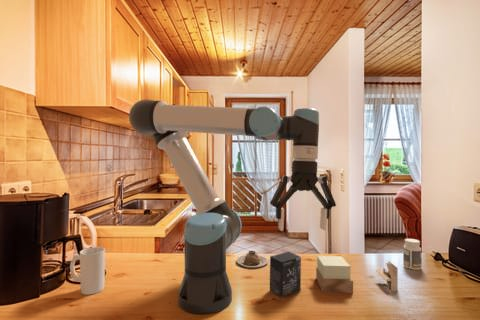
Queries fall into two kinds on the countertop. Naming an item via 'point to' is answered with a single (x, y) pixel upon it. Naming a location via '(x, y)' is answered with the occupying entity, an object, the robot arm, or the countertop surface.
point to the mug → (90, 269)
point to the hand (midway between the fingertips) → (302, 229)
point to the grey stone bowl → (252, 260)
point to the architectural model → (390, 276)
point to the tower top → (333, 267)
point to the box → (285, 274)
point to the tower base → (334, 284)
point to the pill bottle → (412, 254)
